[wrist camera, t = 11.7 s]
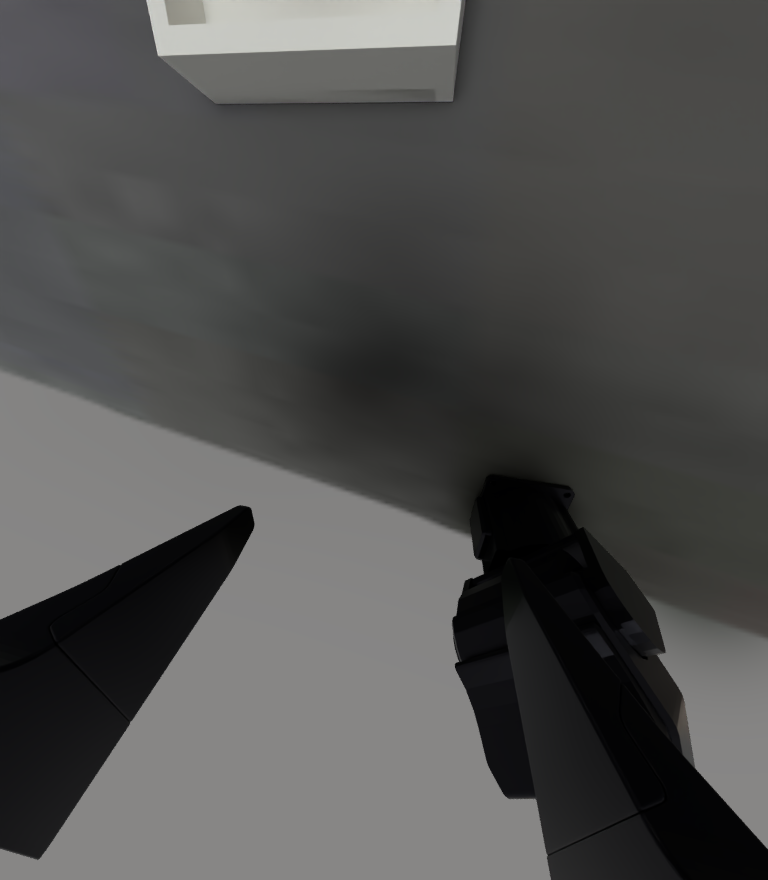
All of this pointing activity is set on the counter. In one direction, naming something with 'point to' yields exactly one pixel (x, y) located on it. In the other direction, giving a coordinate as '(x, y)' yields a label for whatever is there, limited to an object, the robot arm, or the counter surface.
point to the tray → (312, 49)
